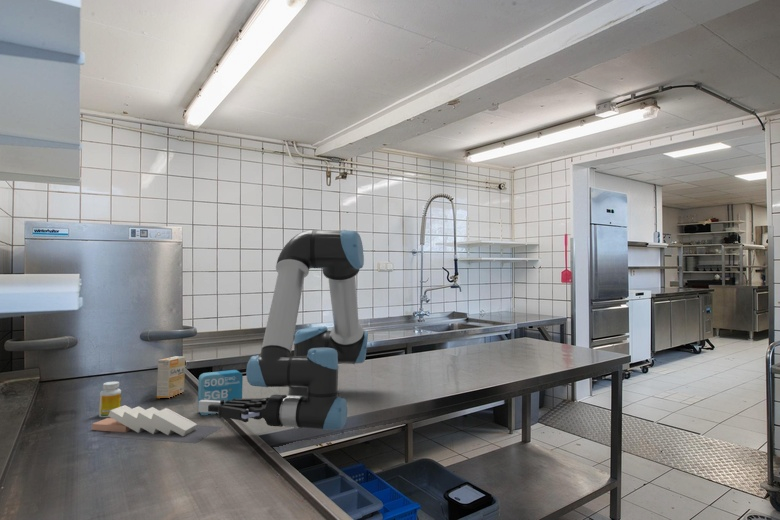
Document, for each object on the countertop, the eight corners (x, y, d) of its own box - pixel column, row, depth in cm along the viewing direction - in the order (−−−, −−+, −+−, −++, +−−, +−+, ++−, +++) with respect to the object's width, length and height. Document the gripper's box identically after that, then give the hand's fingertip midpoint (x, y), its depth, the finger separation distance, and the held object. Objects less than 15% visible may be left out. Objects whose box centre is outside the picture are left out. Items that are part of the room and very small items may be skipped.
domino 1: (139, 420, 116) (107, 417, 118) (125, 426, 111) (92, 423, 113) (139, 425, 116) (107, 423, 118) (125, 432, 111) (92, 429, 113)
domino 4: (182, 423, 114) (152, 407, 116) (170, 429, 109) (138, 412, 111) (180, 428, 114) (150, 412, 116) (168, 435, 109) (136, 418, 111)
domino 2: (154, 421, 115) (125, 405, 117) (140, 427, 110) (110, 410, 112) (152, 426, 115) (123, 410, 117) (138, 432, 110) (108, 415, 112)
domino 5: (197, 424, 113) (166, 407, 115) (185, 430, 108) (153, 413, 110) (195, 429, 113) (164, 413, 115) (183, 436, 108) (151, 419, 110)
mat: (222, 428, 116) (222, 426, 116) (195, 444, 104) (195, 443, 104) (137, 422, 120) (137, 421, 120) (102, 437, 108) (102, 436, 108)
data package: (200, 417, 125) (201, 376, 125) (197, 413, 129) (198, 373, 129) (242, 411, 131) (242, 371, 132) (238, 407, 135) (239, 369, 136)
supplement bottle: (95, 416, 125) (96, 383, 126) (115, 411, 130) (116, 380, 130) (104, 419, 122) (105, 385, 123) (124, 414, 127) (125, 382, 127)
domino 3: (168, 422, 115) (138, 406, 116) (155, 428, 110) (124, 411, 111) (166, 427, 115) (136, 411, 116) (153, 434, 110) (122, 417, 111)
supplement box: (168, 399, 144) (169, 360, 144) (156, 398, 145) (157, 359, 145) (184, 393, 152) (186, 356, 152) (173, 392, 153) (174, 355, 153)
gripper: (273, 435, 100) (183, 428, 104) (295, 417, 113) (214, 412, 117) (273, 402, 100) (184, 397, 105) (295, 389, 113) (215, 385, 117)
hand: (200, 405), depth 111 cm, fingers closed
